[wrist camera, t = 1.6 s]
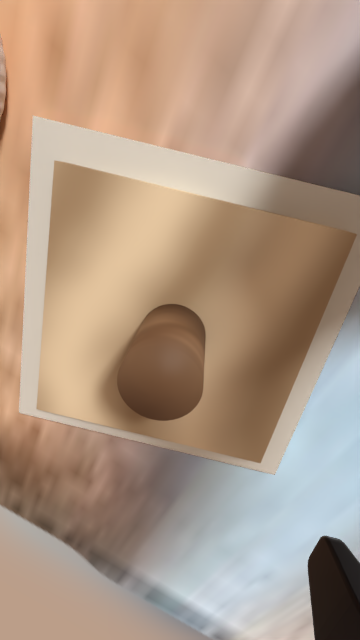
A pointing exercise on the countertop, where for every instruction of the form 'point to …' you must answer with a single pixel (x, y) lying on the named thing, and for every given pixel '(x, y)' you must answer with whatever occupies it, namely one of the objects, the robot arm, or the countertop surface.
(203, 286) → the board
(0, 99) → the ramekin
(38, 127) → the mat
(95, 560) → the countertop surface
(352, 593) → the robot arm
